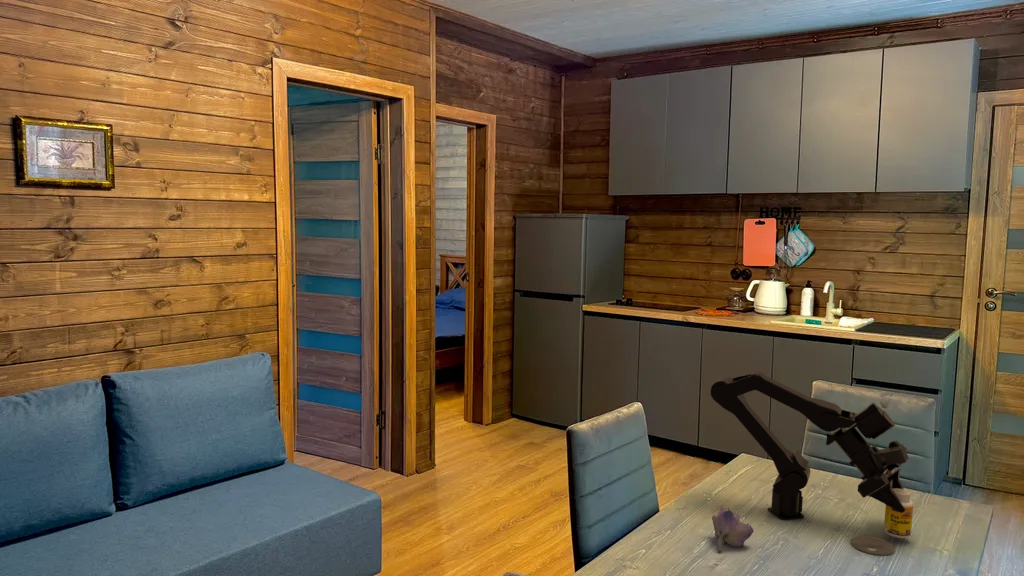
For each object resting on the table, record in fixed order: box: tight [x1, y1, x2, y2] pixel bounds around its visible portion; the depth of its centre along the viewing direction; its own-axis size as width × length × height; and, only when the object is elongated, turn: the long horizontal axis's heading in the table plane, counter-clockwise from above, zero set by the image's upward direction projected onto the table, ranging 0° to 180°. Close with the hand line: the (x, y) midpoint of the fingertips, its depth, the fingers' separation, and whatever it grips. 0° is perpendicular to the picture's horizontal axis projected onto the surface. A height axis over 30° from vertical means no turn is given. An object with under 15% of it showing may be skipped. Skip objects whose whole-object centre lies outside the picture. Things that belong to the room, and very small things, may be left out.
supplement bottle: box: [883, 488, 914, 539], centre depth 169 cm, size 6×6×10 cm
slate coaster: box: [849, 535, 896, 557], centre depth 165 cm, size 9×9×1 cm
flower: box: [711, 505, 754, 554], centre depth 163 cm, size 9×9×10 cm
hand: (906, 507), depth 168 cm, fingers closed on supplement bottle, 6 cm apart
